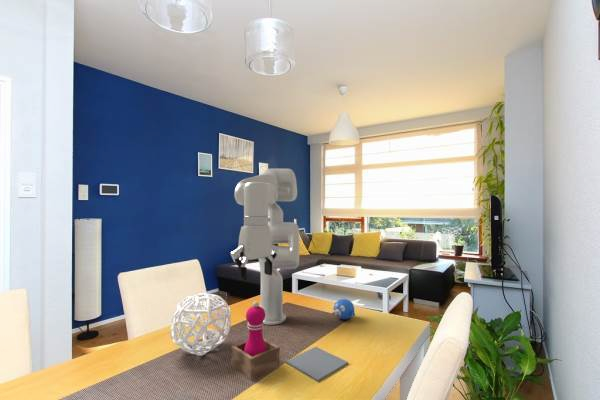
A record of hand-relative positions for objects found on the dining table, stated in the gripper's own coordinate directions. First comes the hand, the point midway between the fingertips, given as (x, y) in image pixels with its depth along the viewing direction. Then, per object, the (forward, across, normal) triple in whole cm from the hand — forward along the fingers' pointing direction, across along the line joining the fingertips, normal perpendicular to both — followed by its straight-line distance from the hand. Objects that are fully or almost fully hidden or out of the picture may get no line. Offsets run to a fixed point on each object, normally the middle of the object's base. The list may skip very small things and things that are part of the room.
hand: (255, 277), depth 95 cm
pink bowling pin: (+28, 0, 0) cm, 28 cm away
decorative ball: (+28, +8, -20) cm, 35 cm away
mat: (+28, -15, +12) cm, 34 cm away
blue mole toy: (+28, -49, -5) cm, 57 cm away
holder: (+28, 0, 0) cm, 28 cm away
